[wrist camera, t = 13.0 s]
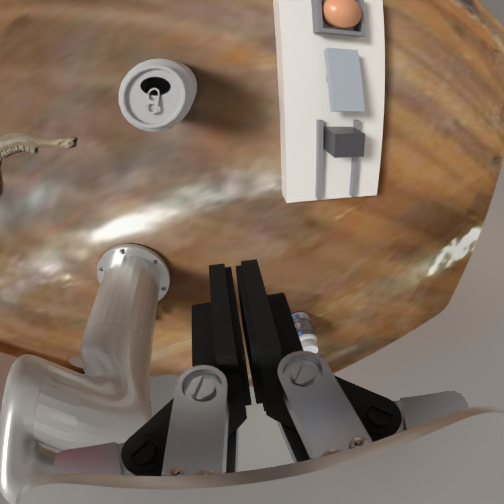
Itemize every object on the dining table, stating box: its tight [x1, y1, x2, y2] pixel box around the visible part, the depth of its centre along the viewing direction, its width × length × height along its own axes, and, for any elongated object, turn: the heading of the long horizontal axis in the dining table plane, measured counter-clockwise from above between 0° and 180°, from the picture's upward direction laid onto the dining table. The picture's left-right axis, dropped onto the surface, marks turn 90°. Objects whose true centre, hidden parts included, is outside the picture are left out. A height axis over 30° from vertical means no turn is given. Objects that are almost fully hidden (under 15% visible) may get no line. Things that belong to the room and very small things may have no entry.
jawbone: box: [0, 132, 77, 161], centre depth 34 cm, size 9×20×2 cm, turn 107°
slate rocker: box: [324, 48, 365, 112], centre depth 31 cm, size 8×4×1 cm, turn 3°
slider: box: [323, 127, 365, 158], centre depth 36 cm, size 3×4×4 cm
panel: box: [273, 0, 385, 203], centre depth 35 cm, size 30×14×5 cm, turn 3°
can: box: [119, 59, 197, 132], centre depth 29 cm, size 8×8×12 cm
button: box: [322, 0, 361, 29], centre depth 27 cm, size 4×4×2 cm
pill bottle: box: [292, 312, 318, 354], centre depth 57 cm, size 5×5×8 cm
